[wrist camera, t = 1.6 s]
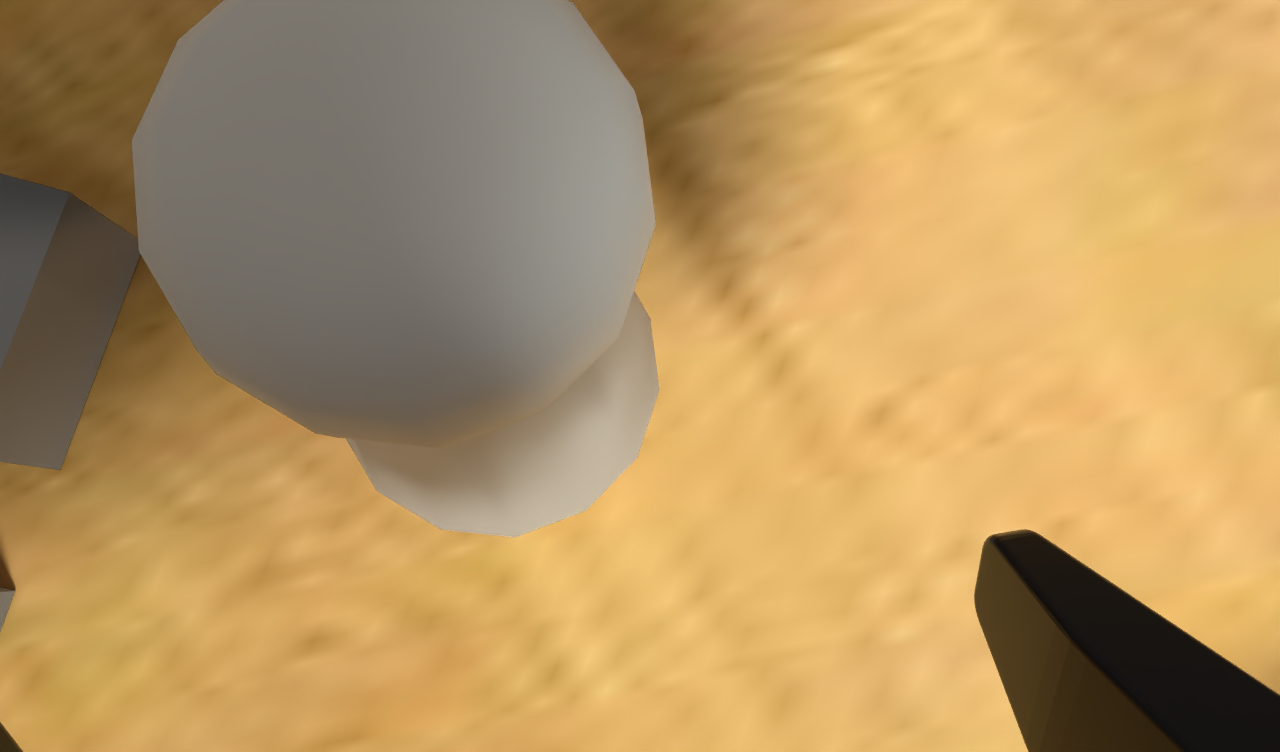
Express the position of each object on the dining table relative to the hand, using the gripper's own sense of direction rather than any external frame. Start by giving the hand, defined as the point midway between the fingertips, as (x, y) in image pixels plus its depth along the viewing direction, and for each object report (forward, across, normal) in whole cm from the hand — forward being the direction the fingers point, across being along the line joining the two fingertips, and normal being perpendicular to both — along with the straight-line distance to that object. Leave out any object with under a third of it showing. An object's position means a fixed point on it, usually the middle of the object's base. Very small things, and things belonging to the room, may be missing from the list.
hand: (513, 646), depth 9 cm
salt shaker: (+11, 0, +5) cm, 12 cm away
